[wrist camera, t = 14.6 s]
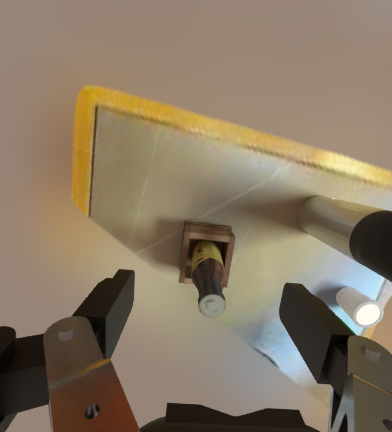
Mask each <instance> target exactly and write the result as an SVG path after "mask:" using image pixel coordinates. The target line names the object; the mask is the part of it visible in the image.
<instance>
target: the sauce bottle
mask: <svg viewBox="0 0 392 432" xmlns="http://www.w3.org/2000/svg"><path fill="white" fill-rule="evenodd" d="M192 281H193V283H194V284H195V286H196V287H197V289H198V292H199V298H198V305H199V309H200V312H201V313H202V314H203V315H204V316H207V317H211V318H213V317H217V316H220V315H221V314H222V313H223V312H224V311H225V308H226V302H225V297H224V295H223V293H222V289H223V288H224V286H225V284H226V275H225V269H224V266H223V262H222V258H221V254H220V251H219V247H218V246H217V244H216V243H215V242H214V241H212V240H203V239H200V240H199V241H197V243H196V244H195V245H194V247H193V251H192Z"/></svg>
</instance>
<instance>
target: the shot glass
mask: <svg viewBox="0 0 392 432" xmlns="http://www.w3.org/2000/svg"><path fill="white" fill-rule="evenodd" d="M336 301H337V303H338V304H339V305H340V307H341V308H342V309H343V310H344V311H345V312H346V313H347V315H348V316H349V317H350V318H351V319H352V320H353V321H354V323H355V324H356V325H358V326H360V327H364V328H367V327H372V326H374V325H376V324H377V323H378V322H379V321H380V320H381V319H382V316H383V308H382V306H381V305H380V304H379V303H377V302H375V301H374V300H372V299H371V298H369V297H367V296H366V295H364V294H362V293H361V292H359V291H357V290H356V289H354V288H352V287H344V288H342V289H340V290H339V291H338V292H337V294H336Z"/></svg>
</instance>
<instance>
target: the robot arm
mask: <svg viewBox="0 0 392 432" xmlns="http://www.w3.org/2000/svg"><path fill="white" fill-rule="evenodd" d="M297 222H298V225H299V226H300V228H301V229H302V230H303V231H305V232H306V233H308V234H310V235H311V236H313V237H315V238H316V239H318V240H320V241H322V242H323V243H325V244H327V245H329V246H330V247H332V248H334V249H336V250H337V251H339V252H341V253H343V254H344V255H346V256H348V257H350V258H351V259H353V260H355V261H357V262H358V263H360V264H362V265H364V266H366V267H367V268H369V269H371V270H372V271H374V272H376V273H377V274H379V275H381V276H383V277H384V278H386V279H388V280H389V281H391V282H392V211H388V210H383V209H379V208H374V207H369V206H365V205H360V204H356V203H351V202H347V201H342V200H338V199H333V198H329V197H324V196H314V197H311V198H309V199H307V200H306V201H305V202H304V203H303V204H302V205H301V206H300V208H299V210H298V213H297ZM134 278H135V273H134V270H124V269H119V270H118V271H117V273H116V274H115V275H114V277H113V278H106V279H104V280H103V281H101V282H100V283H98V284H97V286H96V287H95V288H94V289H93V291H92V292H91V293H90V294H89V295H88V297H87V298H86V299H85V300H84V301H83V303H82V304H81V305H80V306H79V308H78V309H77V310H76V311H75V313H74V314H73V315H72V316H71V317H67V318H64V319H61V320H59V321H57V322H55V323H54V324H52V325H51V326H50V327H49V328H48V329H47V330H46V332H45V333H44V334H40V335H34V336H28V337H23V338H16V332H15V330H14V329H13V328H11V327H6V326H1V327H0V432H5V431H6V430H7V428H8V427H9V425H10V423H11V422H12V420H13V419H14V417H15V416H16V414H17V413H18V412H22V411H25V410H29V409H33V408H36V407H40V406H44V405H47V404H48V405H49V415H50V426H51V432H320V431H318V430H316V429H314V428H312V427H310V426H307V425H305V423H304V420H303V418H302V416H301V414H300V411H299V410H290V409H271V408H266V409H263V410H259V411H256V412H253V413H249V414H245V415H241V416H231V415H228V414H225V413H222V412H220V411H217V410H214V409H211V408H208V407H205V406H202V405H197V404H178V403H167V409H166V416H165V417H161V418H158V419H156V420H154V421H151V422H149V423H148V424H146V425H144V426H143V427H141V428H140V429H139V427H138V425H137V422H136V420H135V417H134V415H133V412H132V410H131V407H130V405H129V403H128V400H127V398H126V396H125V393H124V391H123V388H122V386H121V384H120V381H119V378H118V376H117V374H116V371H115V369H114V366H113V364H112V362H111V360H110V359H111V356H112V354H113V352H114V350H115V347H116V345H117V342H118V340H119V338H120V335H121V333H122V330H123V328H124V326H125V323H126V321H127V319H128V316H129V314H130V312H131V309H132V306H133V301H134ZM279 315H280V319H281V322H282V323H283V325H284V327H285V328H286V330H287V332H288V334H289V335H290V337H291V339H292V340H293V342H294V344H295V346H296V347H297V349H298V351H299V352H300V354H301V356H302V358H303V359H304V361H305V363H306V364H307V366H308V368H309V370H310V371H311V373H312V375H313V376H314V378H315V380H316V382H317V383H318V384H331V386H332V387H333V389H332V392H331V397H330V409H329V421H328V432H392V354H391V353H390V352H389V351H388V350H387V349H385V348H384V347H383V346H381V345H380V344H378V343H376V342H375V341H372V340H371V339H368V338H366V337H362V336H357V335H355V334H354V333H353V332H352V331H351V330H350V329H349V328H348V327H347V326H346V325H345V324H344V323H343V322H342V321H341V319H340V318H339V317H338V316H335V313H334V312H333V311H332V310H330V309H329V307H328V306H327V305H326V304H325V303H324V302H323V301H322V300H320V299H319V298H317V297H316V296H314V295H313V294H311V293H310V292H309V291H308V290H307V289H306V288H305V287H304V286H303V285H302V284H297V283H286V284H285V285H284V289H283V294H282V298H281V303H280V308H279Z"/></svg>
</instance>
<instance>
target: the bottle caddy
mask: <svg viewBox="0 0 392 432" xmlns="http://www.w3.org/2000/svg"><path fill="white" fill-rule="evenodd" d="M231 230H232V227H230V226H221V225H212V224H203V223H194V222H184V231H183V240H182V249H181V258H180V267H179V270H180V276H179V283H188V284H194V283H193V281H192V251H193V247H194V245H195V244H196V243H197V241H199V240H200V239H203V240H212V241H214V242H215V243H216V244H217V246H218V247H219V251H220V254H221V258H222V262H223V266H224V269H225V275H226V284H225V286H224V287H227V284H228V278H229V272H230V266H231V261H232V255H233V249H234V243H235V236H234V234H233V233H232V231H231Z"/></svg>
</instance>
